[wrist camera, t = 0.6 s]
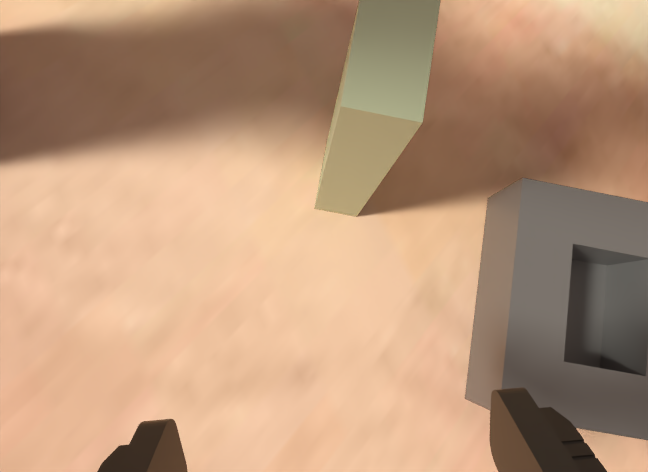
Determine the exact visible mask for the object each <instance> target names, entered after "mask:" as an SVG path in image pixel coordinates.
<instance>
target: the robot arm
mask: <svg viewBox="0 0 648 472" xmlns="http://www.w3.org/2000/svg"><path fill="white" fill-rule="evenodd" d="M490 446H491V452H492V456H493V459H494V462H495V465H496V467H497V469H498V472H607V471H606V469H605V468H604V467H603V465H602V464H601V463H600V461H599V460H598V458H595V454H594V453H593V452H592V450H591V449H590V447H589V446H588V445H587V443H584V439H583V438H582V436H581V435H580V434H579V432H578V431H577V430H576V428H575V427H574V425H573V424H572V423H571V421H569V420H568V419H567V418H565V417H564V416H562V415H561V414H560V413H558V412H557V411H556V410H554V409H553V408H552V407H545V408H539V407H538V406H537V404H536V403H535V401H534V400H533V398H532V397H531V395H530V394H529V392H528V391H527V390H526V389H525V388H524V387H520V388H509V389H498V390H493V391H492V393H491V412H490ZM98 472H187V465H186V461H185V457H184V453H183V449H182V445H181V441H180V438H179V434H178V430H177V426H176V423H175V421H174V420H173V419H165V420H154V421H144V422H141V423H140V424H139V426H138V428H137V430H136V432H135V434H134V436H133V438H132V440H131V442H130V444H129V445H121V446H119V447H118V448H117V449H116V450H115V451H114V452H113V453H112V454H111V455H110V456H109V457H108V458H107V459H106V460H105V461H104V462H103V463H102V464H101V466H100V468H99V470H98Z"/></svg>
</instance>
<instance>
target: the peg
mask: <svg viewBox="0 0 648 472" xmlns="http://www.w3.org/2000/svg"><path fill="white" fill-rule="evenodd" d="M439 7H440V0H359V3H358V7H357V12H356V16H355V20H354V25H353V29H352V34H351V38H350V42H349V47H348V51H347V56H346V60H345V64H344V69H343V73H342V77H341V82H340V86H339V91H338V95H337V99H336V104H335V108H334V113H333V117H332V121H331V126H330V130H329V134H328V139H327V144H326V149H325V154H324V160H323V165H322V171H321V176H320V181H319V187H318V192H317V198H316V203H315V208H314V209H319V210H324V211H330V212H335V213H340V214H345V215H351V216H356V217H357V215H358V214H359V213H360V211H361V210H362V208H363V207H364V205H365V204H366V203H367V201H368V200H369V198H370V197H371V196H372V194H373V193H374V191H375V190H376V188H377V187H378V186H379V184H380V183H381V181H382V180H383V178H384V177H385V176H386V174H387V173H388V171H389V170H390V168H391V167H392V166H393V164H394V163H395V161H396V160H397V159H398V157H399V156H400V154H401V153H402V151H403V150H404V149H405V147H406V146H407V144H408V143H409V141H410V140H411V139H412V137H413V136H414V134H415V133H416V131H417V130H418V129H419V127H420V126H421V124H422V123H423V117H424V110H425V103H426V96H427V89H428V83H429V76H430V69H431V62H432V55H433V48H434V41H435V35H436V28H437V21H438V14H439Z"/></svg>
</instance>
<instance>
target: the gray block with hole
mask: <svg viewBox="0 0 648 472" xmlns="http://www.w3.org/2000/svg"><path fill="white" fill-rule="evenodd" d="M520 387H524V388H525V389H526V390H527V391H528V392H529V394H530V395H531V397H532V398H533V400H534V401H535V403H536V404H537V406H538V407H539V408H545V407H552V408H553V409H554V410H556V411H557V412H558V413H560V414H561V415H562V416H564V417H565V418H567V419H568V420H569V421H571V423H572V424H573V425H574V427H575V428H580V429H586V430H592V431H597V432H603V433H609V434H615V435H621V436H626V437H632V438H638V439H644V440H648V202H643V201H638V200H633V199H628V198H623V197H618V196H613V195H608V194H603V193H598V192H593V191H587V190H582V189H577V188H572V187H567V186H562V185H557V184H552V183H547V182H542V181H537V180H532V179H527V178H521V179H520V180H518V181H516V182H515V183H513V184H511V185H509V186H508V187H506V188H504V189H503V190H501V191H499V192H497V193H496V194H494V195H492V196H491V197H489V198H488V202H487V210H486V219H485V228H484V237H483V245H482V254H481V263H480V272H479V280H478V289H477V298H476V306H475V315H474V324H473V333H472V341H471V350H470V359H469V368H468V376H467V385H466V394H465V399H467V400H469V401H471V402H473V403H475V404H477V405H480V406H482V407H484V408H486V409H488V410H490V411H491V393H492V391H493V390H498V389H509V388H520Z"/></svg>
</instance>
